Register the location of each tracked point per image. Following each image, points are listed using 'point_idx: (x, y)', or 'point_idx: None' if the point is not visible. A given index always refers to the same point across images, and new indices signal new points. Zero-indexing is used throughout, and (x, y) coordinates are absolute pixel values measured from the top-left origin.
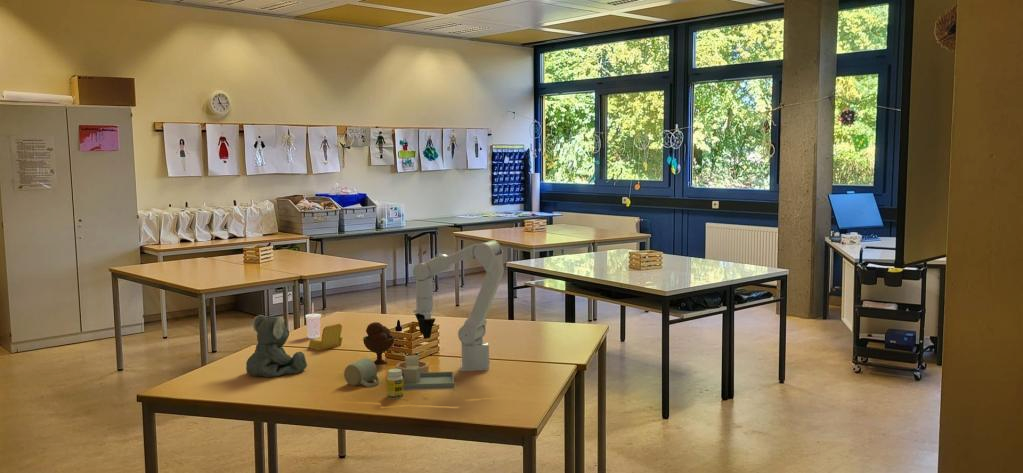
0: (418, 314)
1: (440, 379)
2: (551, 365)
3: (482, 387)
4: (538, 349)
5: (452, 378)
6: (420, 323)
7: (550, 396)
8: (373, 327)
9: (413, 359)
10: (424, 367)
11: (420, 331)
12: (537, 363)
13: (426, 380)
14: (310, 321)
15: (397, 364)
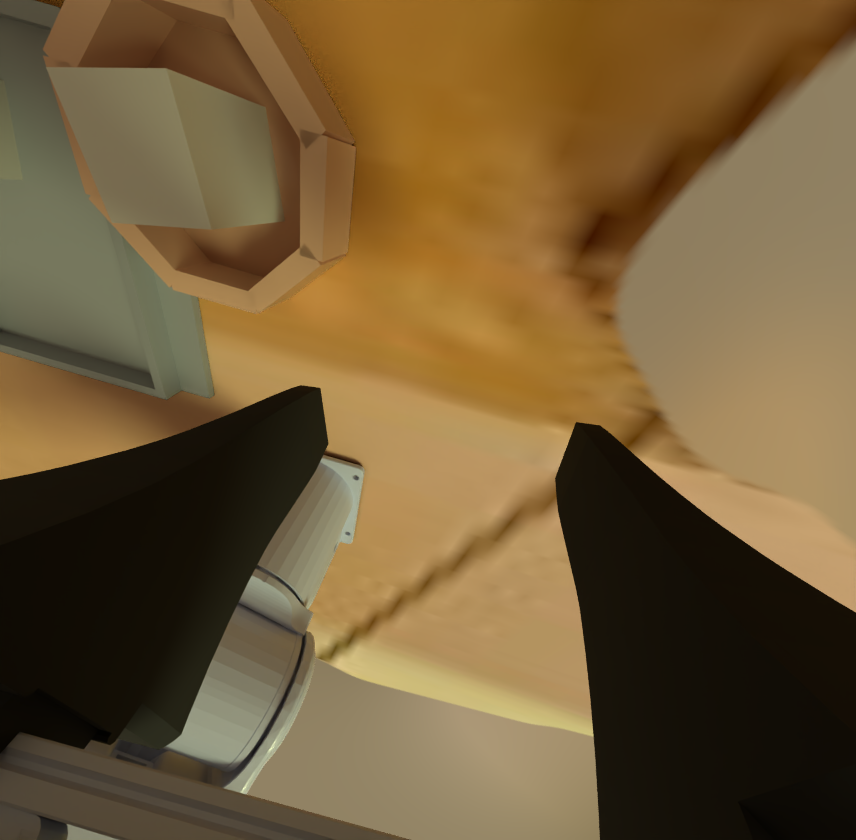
0: (834, 837)
1: (100, 312)
2: (317, 632)
3: (65, 432)
4: (493, 677)
5: (45, 359)
6: (65, 491)
7: None
8: None
9: (96, 164)
10: (141, 254)
11: (585, 436)
12: (343, 623)
13: (60, 228)
14: None
15: None
